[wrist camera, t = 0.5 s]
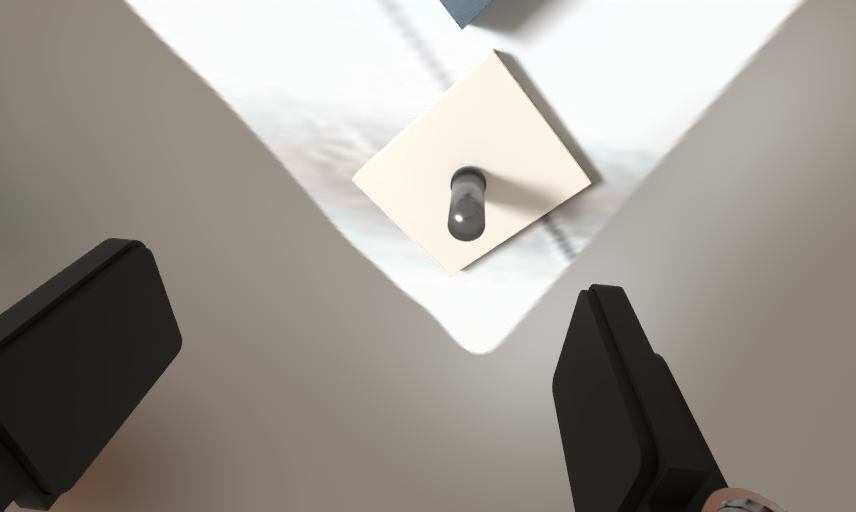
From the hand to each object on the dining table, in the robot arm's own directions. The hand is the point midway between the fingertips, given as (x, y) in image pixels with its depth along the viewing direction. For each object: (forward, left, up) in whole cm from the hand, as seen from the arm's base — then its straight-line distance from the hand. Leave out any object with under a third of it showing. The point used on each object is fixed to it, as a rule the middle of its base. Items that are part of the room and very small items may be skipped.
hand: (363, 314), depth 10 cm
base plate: (+3, +7, -26) cm, 27 cm away
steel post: (+3, +7, -24) cm, 25 cm away
